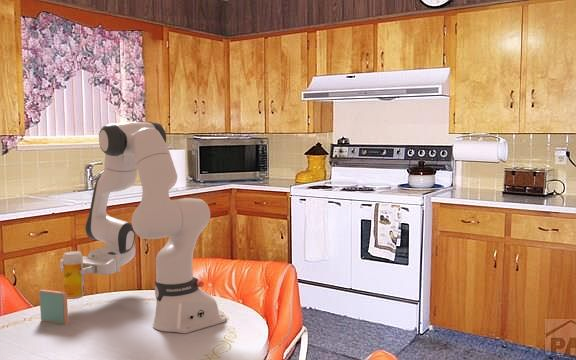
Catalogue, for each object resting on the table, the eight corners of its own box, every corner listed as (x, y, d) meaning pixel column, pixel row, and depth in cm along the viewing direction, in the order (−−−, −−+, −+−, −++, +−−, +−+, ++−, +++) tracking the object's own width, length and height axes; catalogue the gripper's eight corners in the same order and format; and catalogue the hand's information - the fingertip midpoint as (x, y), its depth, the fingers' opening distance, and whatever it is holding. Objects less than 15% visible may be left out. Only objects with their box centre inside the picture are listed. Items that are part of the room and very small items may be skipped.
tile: (44, 319, 175) (42, 289, 174) (68, 323, 172) (66, 292, 171) (40, 320, 174) (38, 290, 173) (65, 324, 171) (63, 293, 170)
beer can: (65, 295, 183) (63, 251, 182) (84, 293, 185) (82, 250, 184) (64, 300, 177) (61, 255, 176) (84, 298, 179) (81, 254, 178)
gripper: (76, 250, 196) (46, 259, 183) (122, 254, 188) (95, 264, 176) (77, 267, 196) (47, 277, 184) (123, 272, 189) (96, 283, 176)
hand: (71, 271), depth 180 cm, fingers closed on beer can, 6 cm apart
